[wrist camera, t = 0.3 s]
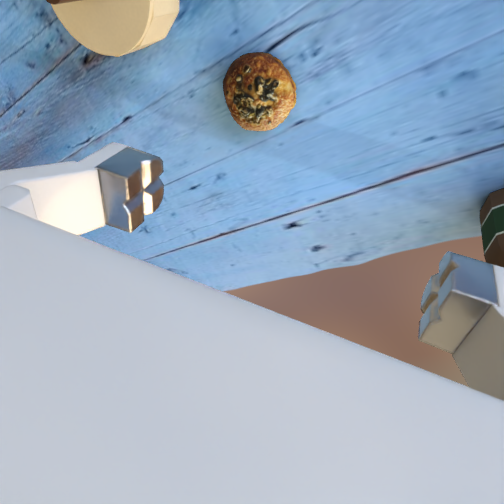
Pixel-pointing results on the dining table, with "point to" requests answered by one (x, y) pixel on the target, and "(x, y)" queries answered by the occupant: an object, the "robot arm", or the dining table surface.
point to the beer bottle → (493, 228)
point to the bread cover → (116, 23)
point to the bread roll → (259, 91)
